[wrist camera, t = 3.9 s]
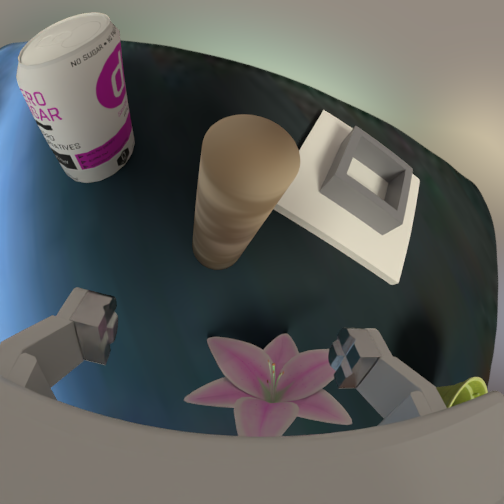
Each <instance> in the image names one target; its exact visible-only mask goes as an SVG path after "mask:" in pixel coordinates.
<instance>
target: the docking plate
mask: <svg viewBox="0 0 504 504" xmlns="http://www.w3.org/2000/svg"><path fill="white" fill-rule="evenodd" d="M299 154H300V168H299V171H298V174H297V176H296V177H295V179H294V180H293V182H292V183H291V184H290V186H289V187H288V189H287V190H286V192H285V193H284V194H283V196H282V197H281V199H280V200H279V201H278V203H277V204H276V206H275V207H274V210H276V211H277V212H279V213H280V214H282V215H284V216H285V217H287V218H289V219H290V220H292V221H294V222H295V223H297V224H299V225H300V226H302V227H303V228H305V229H307V230H308V231H310V232H311V233H313V234H315V235H316V236H318V237H319V238H321V239H323V240H324V241H326V242H327V243H329V244H330V245H332V246H333V247H335V248H337V249H338V250H340V251H341V252H343V253H344V254H346V255H347V256H349V257H350V258H352V259H353V260H355V261H357V262H358V263H360V264H361V265H363V266H364V267H366V268H367V269H369V270H370V271H372V272H373V273H374V274H376V275H377V276H379V277H380V278H382V279H383V280H385V281H386V282H388V283H389V284H391V285H394V284H397V283H399V279H400V275H401V272H402V268H403V264H404V260H405V256H406V252H407V247H408V243H409V238H410V234H411V229H412V224H413V219H414V213H415V208H416V202H417V195H418V189H419V182H420V180H419V179H418V178H417V177H416V176H415V175H413V174H412V172H413V169H412V168H411V167H410V166H409V165H408V164H406V163H405V162H404V161H403V160H401V159H400V158H399V157H398V156H396V155H395V154H394V153H393V152H391V151H390V150H389V149H387V148H386V147H385V146H383V145H382V144H381V143H379V142H378V141H377V140H375V139H374V138H373V137H371V136H370V135H368V134H367V133H366V132H364V131H363V130H361V129H360V128H358V127H357V126H355V127H354V128H353V129H352V128H351V127H350V126H348V125H346V124H345V123H343V122H342V121H340V120H339V119H337V118H336V117H334V116H332V115H331V114H329V113H328V112H326V111H324V110H323V112H322V113H321V115H320V117H319V118H318V120H317V122H316V123H315V125H314V127H313V128H312V130H311V132H310V133H309V135H308V137H307V138H306V140H305V142H304V143H303V145H302V147H301V148H300V150H299Z"/></svg>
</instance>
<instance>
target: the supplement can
mask: <svg viewBox="0 0 504 504" xmlns="http://www.w3.org/2000/svg"><path fill="white" fill-rule="evenodd" d="M18 61H19V63H18V68H17V75H16V78H17V82H18V85H19V87H20V90H21V92H22V94H23V96H24V98H25V100H26V102H27V104H28V106H29V108H30V110H31V112H32V114H33V116H34V118H35V120H36V122H37V124H38V126H39V128H40V130H41V131H42V133H43V135H44V137H45V139H46V140H47V142H48V144H49V146H50V148H51V149H52V151H53V153H54V154H55V156H56V158H57V159H58V161H59V163H60V164H61V166H62V168H63V169H64V171H65V173H66V174H67V175H68V176H69V177H71V178H72V179H73V180H75V181H79V182H84V183H90V182H96V181H101V180H103V179H105V178H107V177H109V176H111V175H113V174H115V173H116V172H117V171H118V170H119V169H120V168H122V167H123V166H124V165H125V164H126V162H127V161H128V159H129V158H130V156H131V155H132V152H133V148H134V144H135V141H134V135H133V129H132V124H131V118H130V112H129V106H128V100H127V93H126V86H125V79H124V71H123V63H122V53H121V43H120V31H119V30H118V29H117V28H116V27H115V25H114V24H113V23H112V22H111V21H110V17H109V16H107V15H106V14H104V13H97V12H93V13H83V14H79V15H75V16H72V17H69V18H66V19H64V20H61V21H59V22H57V23H54V24H53V25H51V26H49V27H47V28H46V29H44V30H42V31H41V32H39V33H38V34H37V35H36V36H34V37H33V38H32V39H31V40H29V42H28V43H27V44H26V45H25V46H24V47H23V48H22V50H21V52H20V54H19V56H18Z"/></svg>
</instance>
